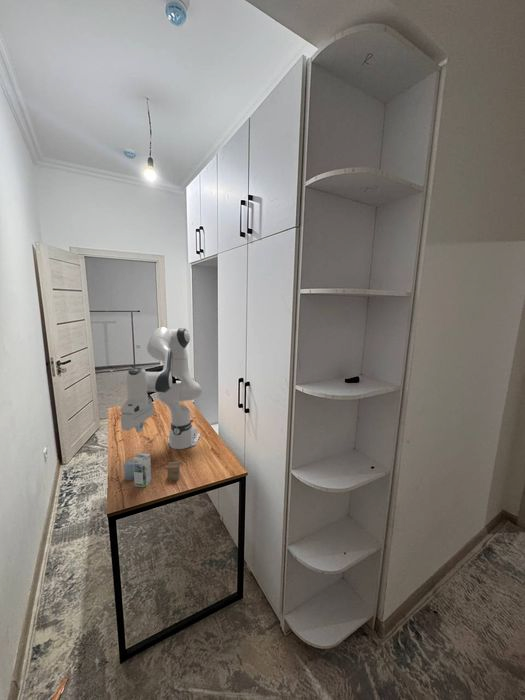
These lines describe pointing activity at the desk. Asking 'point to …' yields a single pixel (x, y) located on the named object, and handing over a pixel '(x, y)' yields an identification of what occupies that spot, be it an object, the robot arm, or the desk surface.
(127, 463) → the slate cylinder
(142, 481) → the syrup box
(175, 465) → the walnut block
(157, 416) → the desk surface
